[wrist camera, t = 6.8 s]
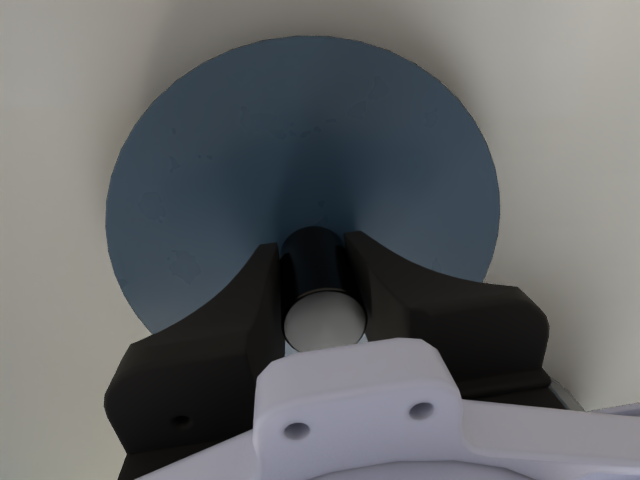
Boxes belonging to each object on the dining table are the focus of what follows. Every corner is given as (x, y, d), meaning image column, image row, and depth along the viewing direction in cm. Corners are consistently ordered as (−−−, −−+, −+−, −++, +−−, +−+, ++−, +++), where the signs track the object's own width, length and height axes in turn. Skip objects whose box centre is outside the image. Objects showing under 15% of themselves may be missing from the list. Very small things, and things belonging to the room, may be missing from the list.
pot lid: (349, 409, 19) (371, 519, 15) (60, 296, 15) (-36, 404, 10) (558, 187, 15) (681, 247, 10) (236, -80, 10) (204, -185, 6)
